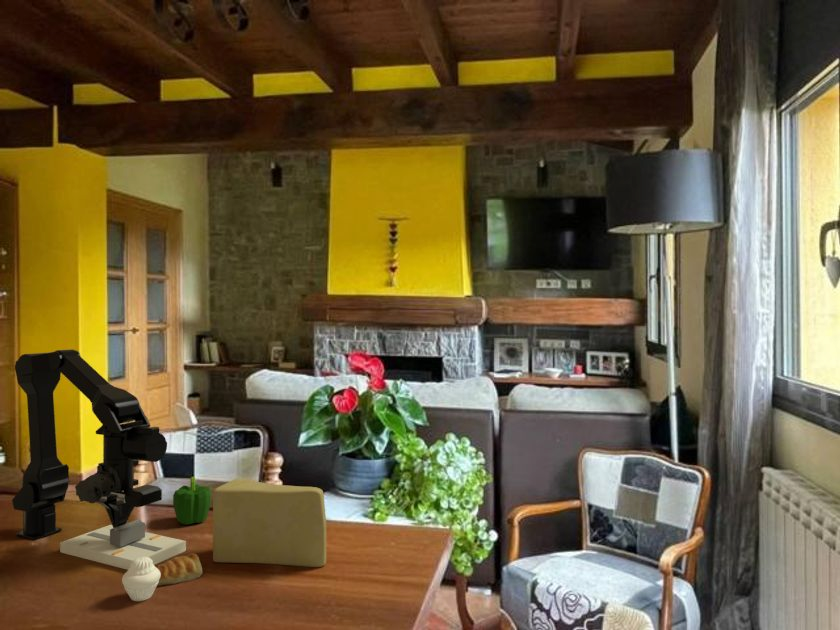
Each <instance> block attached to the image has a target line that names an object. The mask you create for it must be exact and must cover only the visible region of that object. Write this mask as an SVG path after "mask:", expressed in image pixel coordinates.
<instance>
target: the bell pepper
mask: <svg viewBox="0 0 840 630" xmlns="http://www.w3.org/2000/svg"><path fill="white" fill-rule="evenodd" d="M172 496H173V497H172V499H173V501H172V503H173V504H172V505H173V509H174V514H175V517H176V519H177V521H178V523H180V524H182V525H187V526H188V525H192V524H196V523H199V524H200V523H203V522H205V521H206V519H207V518H208V515H209V511H210V508H211V501H212V491H211V488H210V486H205V485H204V486H203V485H200V484H198V483H196V478H195V476H191V477H190V486H188V485H182V486H181V487H179V488H178V489H177V490H175V491H174V493H173V495H172Z"/></svg>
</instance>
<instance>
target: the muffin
mask: <svg viewBox="0 0 840 630" xmlns="http://www.w3.org/2000/svg"><path fill="white" fill-rule="evenodd" d="M156 567H157V566H155V565H154V564H153V561H152V560H151V559H150V558H149V557H140V558H137V559H135V560H133V561H132V562H131V565H130V568H129V570H127V571H126V572H125V573H123V576H122V578H121V582H122V585H123V588H124V590H125V592H126V593H127V596H129V598H130V600H131V601H134V602H143V601H146V600H148V599H150V598H152V596H153V594H154V592H155V590H156V589H157V585H158V583H159V579H160V577H161V573H160V571H159V570H158V569H157V568H156Z"/></svg>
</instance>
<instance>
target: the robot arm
mask: <svg viewBox="0 0 840 630" xmlns="http://www.w3.org/2000/svg"><path fill="white" fill-rule="evenodd" d="M14 370H15V371H14V372H15V375H16V380H17V384H18V385H19V387H20V389H22V391H23V392H24V393H25V394H26V397H27V398H26V403H27V416H28V417H27V418H28V419H27V420H28V432H29V433H28V434H29V436H28V437H29V451H30V452H29V453H30V461H29V464H28V466H27V467H26V469H25V470H24V473H23V476H22V487H21V488H20V489H19V490H18V492H17V493H16V494H15V495H14V497H13V498H12V500H11V502H12V507H13V510H17V511H21V512H22V519H23V520H22V525H23V526H22V530H20V531H18V532H16V533H15V534H16V536H18V537H22V538H25V539H26V538H27V539H29V540H30V539H31V540H37V539H41V538H44V537H47V536H50V535H53V534H56V533H59V532H62V531H63V528H62V527H60V526H59V527H58V526H57V513H56V504H57V503H62V502H64V501H65V498H66V493H67V491H68V490H69V483H71V479H70V476H69V471H70V470H69V469H70V468H69V465H68V464H67V463H66V464H63V463H62V462H61V460H60V459H59V458H58V452H57V451H58V450H57V449H58V448H57V435H56V420H55V419H56V415H55V403H54V402H55V400H54V391H55V390H56V388H57V386H58V384H60V380H61V375H63V376H64V377H65V378H66V379H67V380H68V381H69V382H70V383H71V384H72V385H74V387H75V388H76V389H78V390H79V392H80V393H81V394H83V395H84V396H85V397H86V398H87V399H88V400H89V401H90V403H91V411H92V413H93V414H94V416H96V418H97V419H98V420H99V422H100V423H101V424H102V425H101V426H100V427H99V428H97V430H95V435H102V436H103V437H102V438H103V439H102V440H103V442H102V447H103V450H102V451H103V452H102V456H103V457H102V458H103V459H102V460H103V461H102V462H99V463H98V465H97V466H96V472H95V473H94V474H92V475H89V476H87V477H86V478H85V479H83V480H80V481H78V483H77V484H76V485H75V486H74V488H75V495H76V496H77V497H78V499H79V501H80V502H86V503H89V504H95V503H97V504H99V505H101V506H102V507H104V509H105V510H106V512H107V515H108V517H109V520H110V523H111V525H112V526H113V528H115V527H118V526H121V525H124V524H127V523H128V521H129V519H130V516H131V514H132V513H133V510H134V509H135V508H142V507H145V506H147V505H150V504H153V503H156V502H159V501H162V499H163V496H162V495H163V494H162V493H163V491H162V489H161V487H160V486H157V485H151V484H144V485H141V486H140V485H139V479H137V478H135V467H136V466H139V463H140V462H139V461H142V462H149V463H150V462H151V463H157V462H159V461H161V460H162V459H163V457H164V456H165V455H166V453H167V450H168V442H167V439H166V437H165V435H163V434H162V433H160V427H159V426H152V427H151V423H150V422H149V419H148V417H147V416H146V414H145V413H144V410H143V409H142V406H141V405H140V401H139V400H138V398H137V397H136V396H135V395H134V394H132V393H130V392H129V391H127V390H125V389H123V388H120V387H117V386H114V385H112V384H110V382H108V381H107V379H105V378H104V377H103V376H102V375H101V374H100V373H99V372H97V371H96V369H94V368H93V366H92V365H90V364H89V363H88V361H86V360H85V359H84V358H83V357H82V356H81V354H80V352H79V351H78V350H76V349H74V348H73V349H59V350H58V349H57V350H55V351H52V352H49V351H48V352H37V353H36V352H35V353H25V354H21V355H20V356H19V358H18V359H17V360H16V361H15V365H14ZM138 485H139V486H138ZM134 486H136V487H134Z"/></svg>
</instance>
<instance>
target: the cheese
mask: <svg viewBox="0 0 840 630" xmlns="http://www.w3.org/2000/svg"><path fill="white" fill-rule="evenodd" d="M212 502H213V503H212V505H213V506H212V508H213V509H212V561H213V562H214V563H223V564H224V563H227V564H229V563H232V564H233V563H234V564H235V563H237V564H266V565H269V564H270V565H279V566H293V567H307V568H308V567H309V568H310V567H311V568H321V567H324V566H325V565H326V564H327V516H326V507H325V504H326V503H325V496H324V491H323V489H321V488H319V487H316V486H315V487H314V486H297V485H284V484H281V485H280V484H272V483H265V482H259V481H255V480H251V479H247V478H246V479H245V478H241V477H240V478H239V477H238V478H234V479H231V480H230V481H228V482H226V483H224V484H222V485H219V486H218V487H216V488H215V489H214V490H213V496H212Z"/></svg>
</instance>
